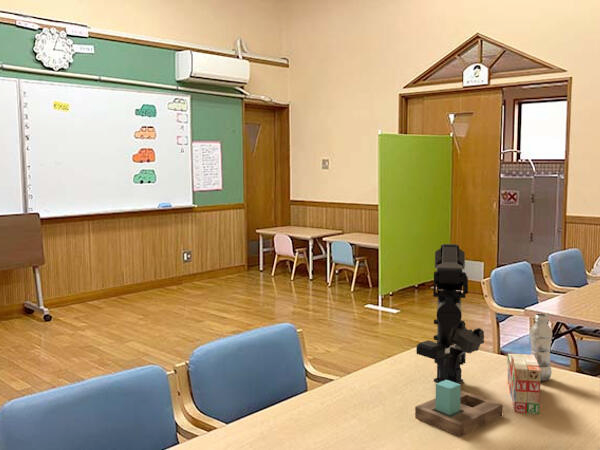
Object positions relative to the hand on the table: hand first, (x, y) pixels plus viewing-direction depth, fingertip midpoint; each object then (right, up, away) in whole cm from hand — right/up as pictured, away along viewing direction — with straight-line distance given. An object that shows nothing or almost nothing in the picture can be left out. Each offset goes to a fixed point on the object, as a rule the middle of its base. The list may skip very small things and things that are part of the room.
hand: (448, 376), depth 148 cm
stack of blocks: (+25, -10, +16) cm, 31 cm away
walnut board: (+4, -12, +4) cm, 13 cm away
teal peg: (0, -12, +1) cm, 12 cm away
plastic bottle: (+35, -9, +29) cm, 46 cm away
